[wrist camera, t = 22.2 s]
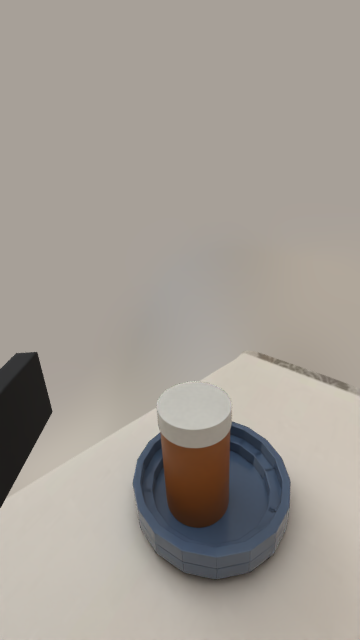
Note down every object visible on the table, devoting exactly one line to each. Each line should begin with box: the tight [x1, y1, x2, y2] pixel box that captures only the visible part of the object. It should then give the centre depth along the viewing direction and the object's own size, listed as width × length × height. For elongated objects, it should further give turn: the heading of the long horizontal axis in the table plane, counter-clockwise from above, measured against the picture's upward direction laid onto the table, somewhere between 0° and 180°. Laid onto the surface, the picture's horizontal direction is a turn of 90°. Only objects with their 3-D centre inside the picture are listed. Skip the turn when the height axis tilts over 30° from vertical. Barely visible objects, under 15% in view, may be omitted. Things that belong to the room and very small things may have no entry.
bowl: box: [133, 422, 290, 580], centre depth 28 cm, size 14×15×4 cm
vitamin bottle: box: [157, 382, 232, 528], centre depth 25 cm, size 6×6×11 cm
